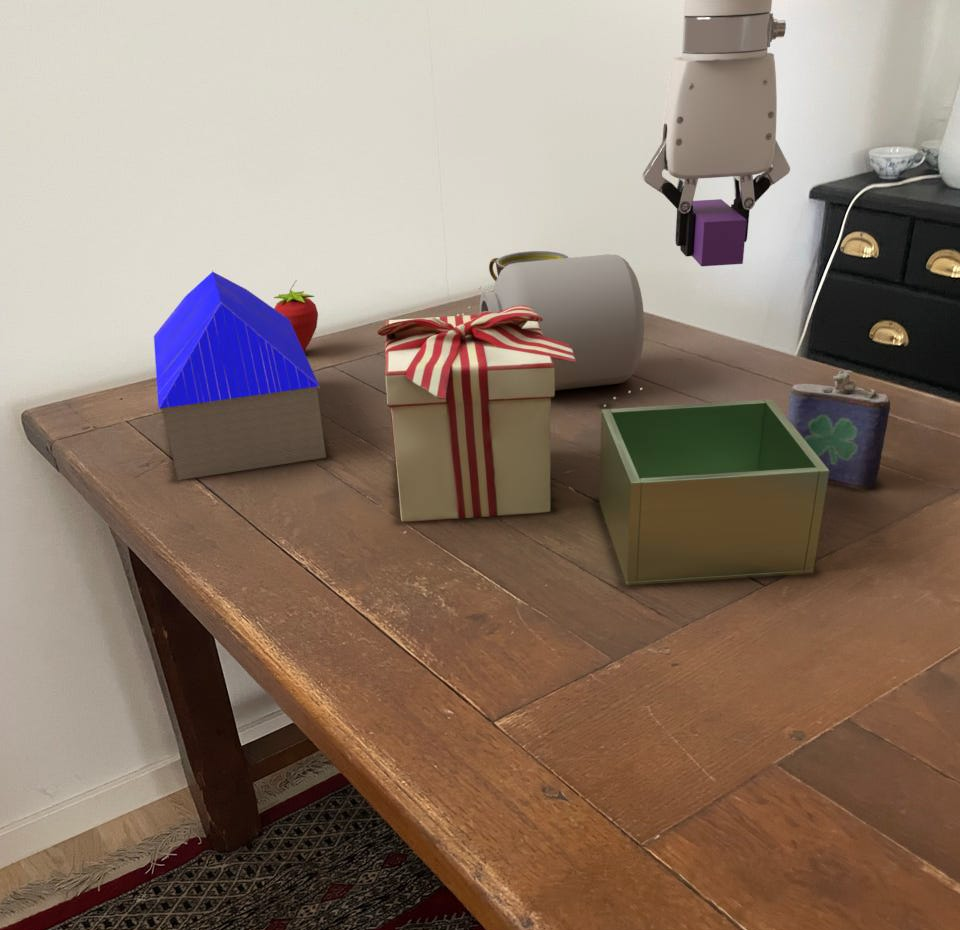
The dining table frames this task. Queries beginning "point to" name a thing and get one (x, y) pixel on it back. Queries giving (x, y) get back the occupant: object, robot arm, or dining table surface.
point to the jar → (579, 313)
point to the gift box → (471, 413)
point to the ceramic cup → (522, 259)
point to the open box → (709, 492)
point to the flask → (842, 428)
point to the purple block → (718, 233)
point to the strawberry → (299, 314)
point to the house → (234, 384)
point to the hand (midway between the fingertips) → (710, 249)
